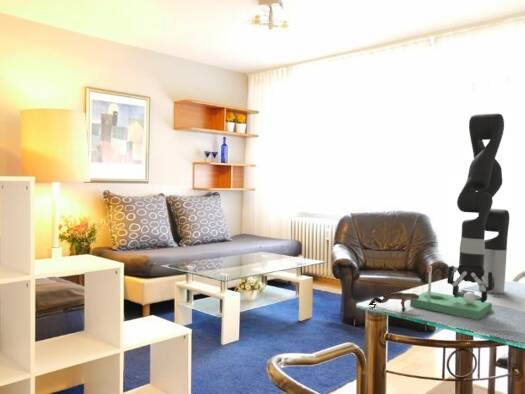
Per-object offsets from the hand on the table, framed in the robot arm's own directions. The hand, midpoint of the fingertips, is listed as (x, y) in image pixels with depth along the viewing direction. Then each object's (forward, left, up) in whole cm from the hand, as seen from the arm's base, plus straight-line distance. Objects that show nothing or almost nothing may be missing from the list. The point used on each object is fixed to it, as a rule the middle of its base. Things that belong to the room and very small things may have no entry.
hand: (469, 299), depth 157 cm
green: (0, -6, -4) cm, 7 cm away
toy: (+16, -19, -4) cm, 26 cm away
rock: (-13, -4, -4) cm, 15 cm away
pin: (+8, -11, -2) cm, 14 cm away
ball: (0, 0, 0) cm, 0 cm away
